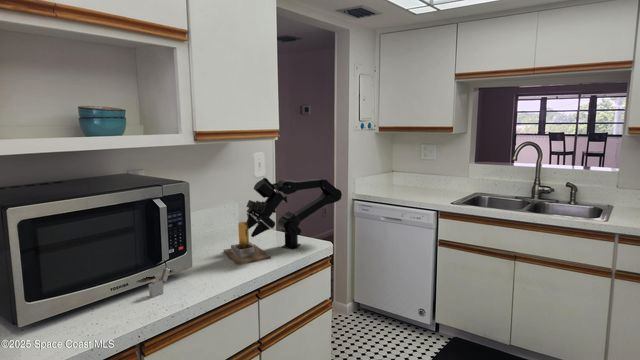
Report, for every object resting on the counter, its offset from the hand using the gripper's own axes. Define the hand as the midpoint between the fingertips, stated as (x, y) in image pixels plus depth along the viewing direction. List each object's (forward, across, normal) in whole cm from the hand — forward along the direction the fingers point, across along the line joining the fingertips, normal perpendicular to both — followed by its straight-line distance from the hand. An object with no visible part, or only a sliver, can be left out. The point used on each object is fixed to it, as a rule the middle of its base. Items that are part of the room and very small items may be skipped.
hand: (247, 233), depth 167 cm
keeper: (+8, 0, +5) cm, 9 cm away
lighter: (+33, +20, -21) cm, 44 cm away
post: (+7, 0, +4) cm, 8 cm away
